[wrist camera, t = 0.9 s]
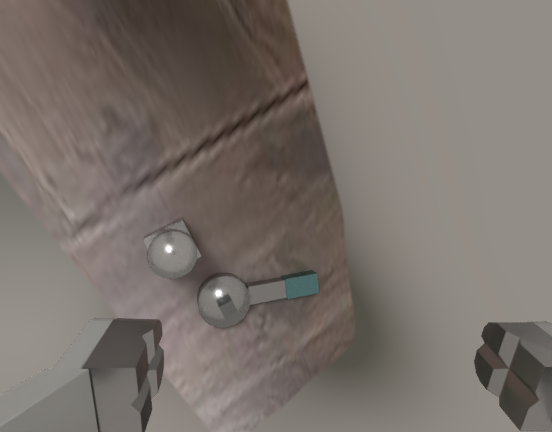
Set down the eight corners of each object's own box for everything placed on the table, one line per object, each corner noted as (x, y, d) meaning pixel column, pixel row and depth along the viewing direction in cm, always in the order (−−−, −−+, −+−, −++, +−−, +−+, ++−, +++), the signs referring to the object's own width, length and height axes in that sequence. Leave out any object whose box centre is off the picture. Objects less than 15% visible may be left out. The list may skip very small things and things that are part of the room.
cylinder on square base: (144, 235, 44) (137, 245, 36) (181, 217, 45) (183, 222, 37) (163, 270, 45) (161, 288, 36) (199, 251, 46) (205, 264, 38)
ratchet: (200, 325, 47) (203, 342, 42) (194, 277, 46) (197, 287, 41) (314, 301, 52) (330, 313, 47) (310, 257, 51) (326, 264, 46)
